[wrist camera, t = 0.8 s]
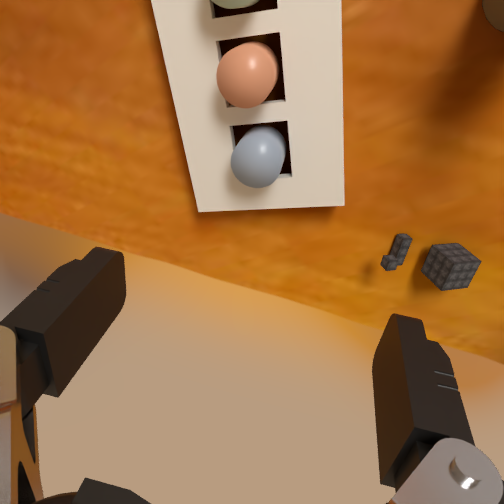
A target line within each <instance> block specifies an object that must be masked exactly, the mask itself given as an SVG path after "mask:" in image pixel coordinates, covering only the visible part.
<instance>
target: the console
mask: <svg viewBox="0 0 504 504" xmlns="http://www.w3.org/2000/svg"><path fill="white" fill-rule="evenodd" d="M151 2H152V7H153V11H154V16H155V20H156V25H157V29H158V33H159V38H160V42H161V47H162V51H163V56H164V60H165V65H166V69H167V73H168V78H169V82H170V87H171V91H172V96H173V100H174V105H175V109H176V114H177V118H178V122H179V127H180V131H181V136H182V140H183V145H184V149H185V154H186V158H187V163H188V167H189V171H190V176H191V180H192V185H193V189H194V194H195V198H196V203H197V207H198V212H211V211H233V210H256V209H278V208H301V207H323V206H344V146H343V82H342V18H341V0H277V5H278V9H272V10H265V11H259V12H253V13H246V14H240V15H233V16H227V17H220V18H215V12H214V5H213V2H212V1H211V0H151ZM276 32H280V40H281V52H282V63H283V75H284V87H285V98H286V99H283V100H274V101H264V102H262V103H261V104H259V105H257V106H255V107H252V108H239V107H236V106H234V105H229V102H228V101H227V100H226V99H225V98H224V97H223V96H222V94H221V92H220V90H219V88H218V85H217V79H216V73H217V68H218V65H219V62H220V60H221V59H222V56H221V50H220V43H219V41H220V40H227V39H234V38H241V37H248V36H255V35H262V34H269V33H276ZM277 121H288V133H289V145H290V156H291V168H292V173H290V174H279V176H278V178H277V179H276V180H275V181H274V182H273V183H272V184H271V185H269V186H266V187H263V188H252V187H248V186H246V185H244V184H243V183H241V182H240V181H239V180H238V179H237V178H236V177H235V175H234V173H233V171H232V168H231V155H232V152H233V150H234V149H235V147H236V146H235V139H234V133H233V126H234V125H245V124H256V123H266V122H277Z"/></svg>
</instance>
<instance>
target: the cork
mask: <svg viewBox="0 0 504 504" xmlns="http://www.w3.org/2000/svg"><path fill="white" fill-rule="evenodd" d="M482 7H483V10H484V13H485V16H486V19H487V20H488V21H489V22H490V23H491V24H492V26H493V27H494V28H495V29H498V30H500V31H502V32H504V0H483V3H482Z"/></svg>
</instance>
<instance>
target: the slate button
mask: <svg viewBox="0 0 504 504" xmlns="http://www.w3.org/2000/svg"><path fill="white" fill-rule="evenodd" d="M286 151H287V146H286V142H285V139H284V137H283V136H282V134H281V133H280V132H279V131H278V130H277V129H275V128H273V127H271V126H268V125H257V126H254V127H252V128H250V129H249V130H248V131H247V132H246V133H245V134H244V135H243V137H242V138H241V140H240V141H239V143H238V144H237V146H236V147H235V149H234V150H233V152H232V155H231V168H232V171H233V173H234V175H235V177H236V178H237V179H238V180H239V181H240V182H241V183H243V184H244V185H246V186H248V187H252V188H263V187H266V186H269V185H271V184H272V183H273V182H274V181H275V180H276V179H277V178H278V176H279V174H280V171H281V168H282V165H283V162H284V159H285V156H286Z"/></svg>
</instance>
